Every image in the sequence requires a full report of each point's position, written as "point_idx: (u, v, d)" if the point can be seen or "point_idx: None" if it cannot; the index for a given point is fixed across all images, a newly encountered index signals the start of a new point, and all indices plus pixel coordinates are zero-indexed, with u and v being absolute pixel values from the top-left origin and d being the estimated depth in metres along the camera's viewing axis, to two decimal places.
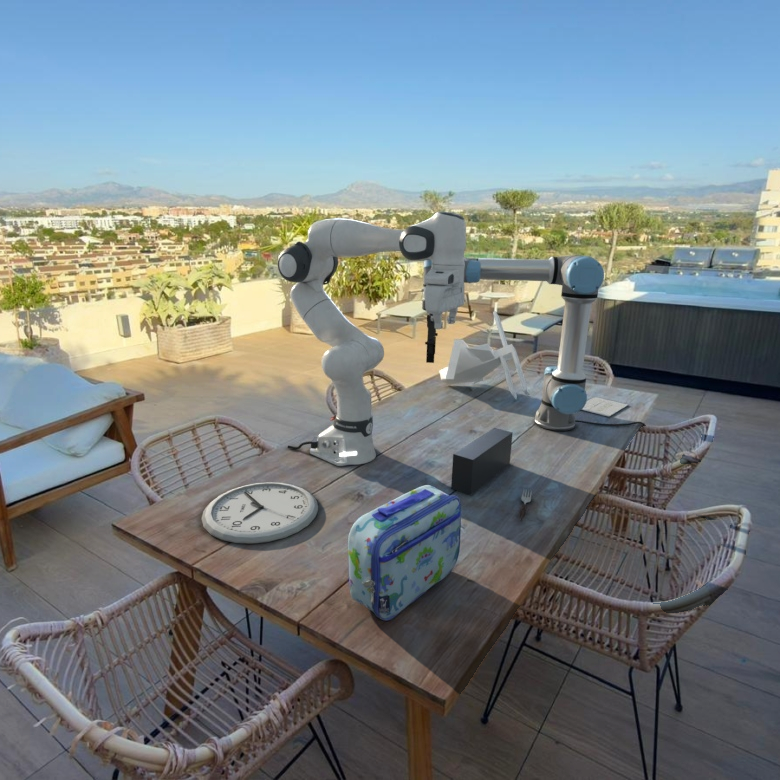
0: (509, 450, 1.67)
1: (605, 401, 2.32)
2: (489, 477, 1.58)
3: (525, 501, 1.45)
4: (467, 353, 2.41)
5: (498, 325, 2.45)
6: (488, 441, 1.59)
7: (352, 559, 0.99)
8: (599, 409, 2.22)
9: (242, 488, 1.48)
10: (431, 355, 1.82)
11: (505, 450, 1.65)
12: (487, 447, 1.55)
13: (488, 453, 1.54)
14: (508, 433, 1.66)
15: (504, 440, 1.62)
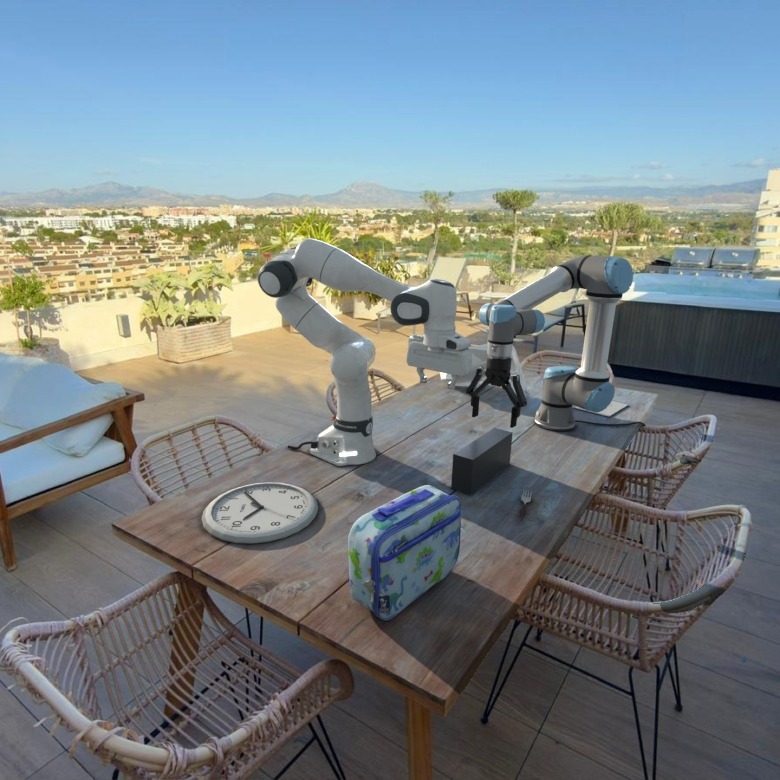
0: (509, 450, 1.67)
1: None
2: (489, 477, 1.58)
3: (525, 501, 1.45)
4: None
5: None
6: (488, 441, 1.59)
7: (352, 559, 0.99)
8: None
9: (242, 488, 1.48)
10: (515, 418, 1.61)
11: (505, 450, 1.65)
12: (487, 447, 1.55)
13: (488, 453, 1.54)
14: (508, 433, 1.66)
15: (504, 440, 1.62)
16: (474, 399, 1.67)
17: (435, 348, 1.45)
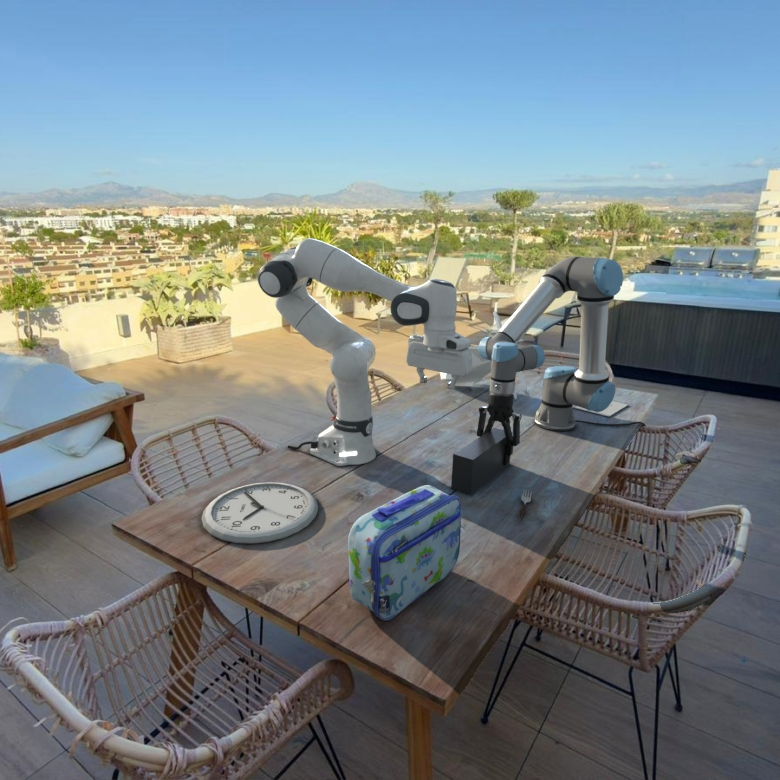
0: None
1: None
2: (489, 477, 1.58)
3: (525, 501, 1.45)
4: None
5: (498, 325, 2.45)
6: (487, 441, 1.59)
7: (352, 559, 0.99)
8: None
9: (242, 488, 1.48)
10: (508, 456, 1.66)
11: None
12: (486, 446, 1.55)
13: (487, 453, 1.54)
14: None
15: (504, 440, 1.62)
16: None
17: (435, 348, 1.45)
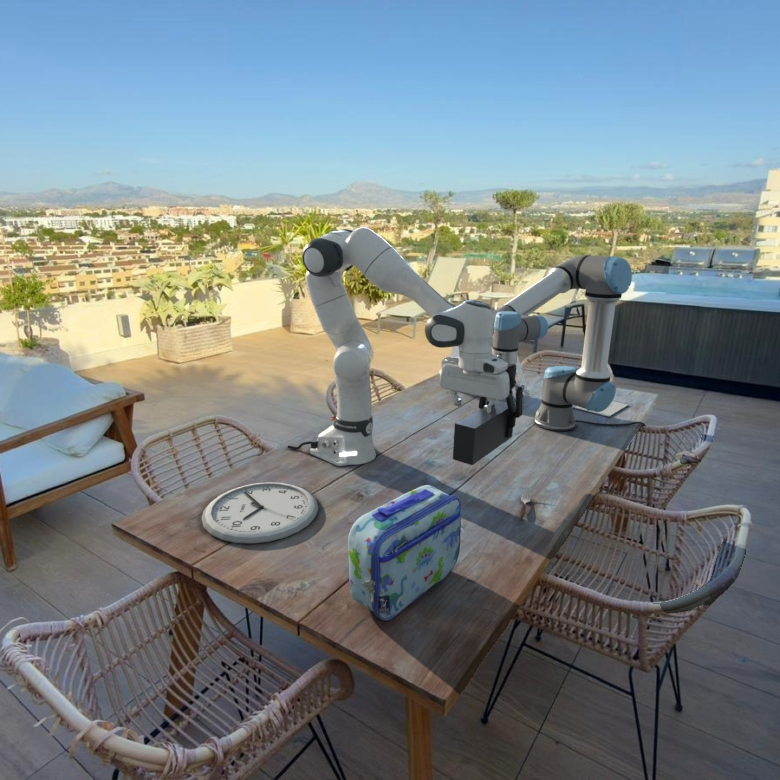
0: None
1: None
2: (491, 448, 1.56)
3: (525, 501, 1.45)
4: None
5: None
6: (490, 412, 1.56)
7: (352, 559, 0.99)
8: None
9: (242, 488, 1.48)
10: (510, 428, 1.63)
11: None
12: (489, 417, 1.52)
13: (490, 423, 1.51)
14: None
15: (506, 411, 1.59)
16: None
17: (471, 371, 1.41)
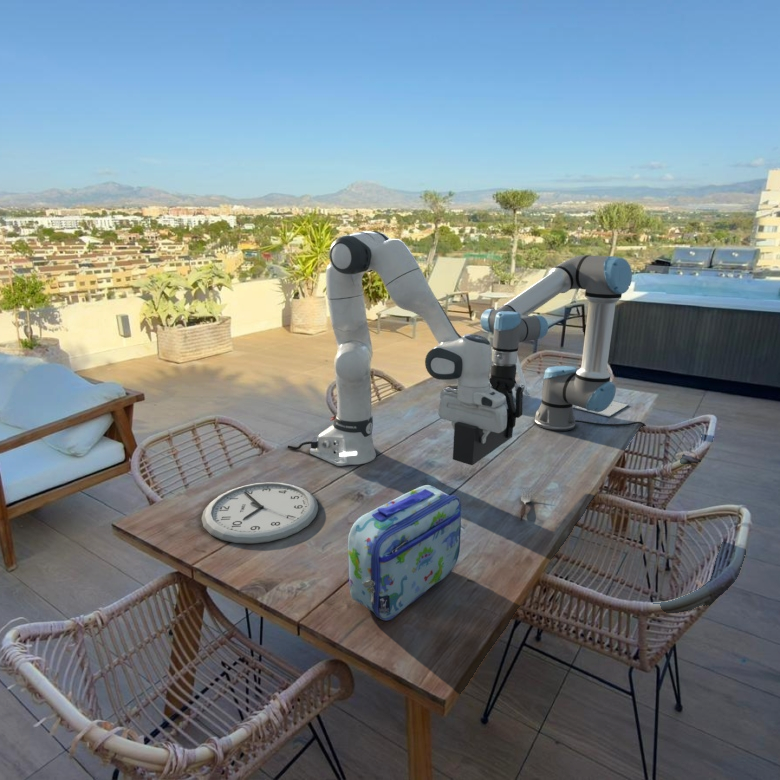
0: None
1: None
2: (491, 448, 1.56)
3: (525, 501, 1.45)
4: None
5: None
6: None
7: (352, 559, 0.99)
8: None
9: (242, 488, 1.48)
10: (511, 428, 1.63)
11: None
12: None
13: None
14: None
15: None
16: None
17: (469, 404, 1.43)
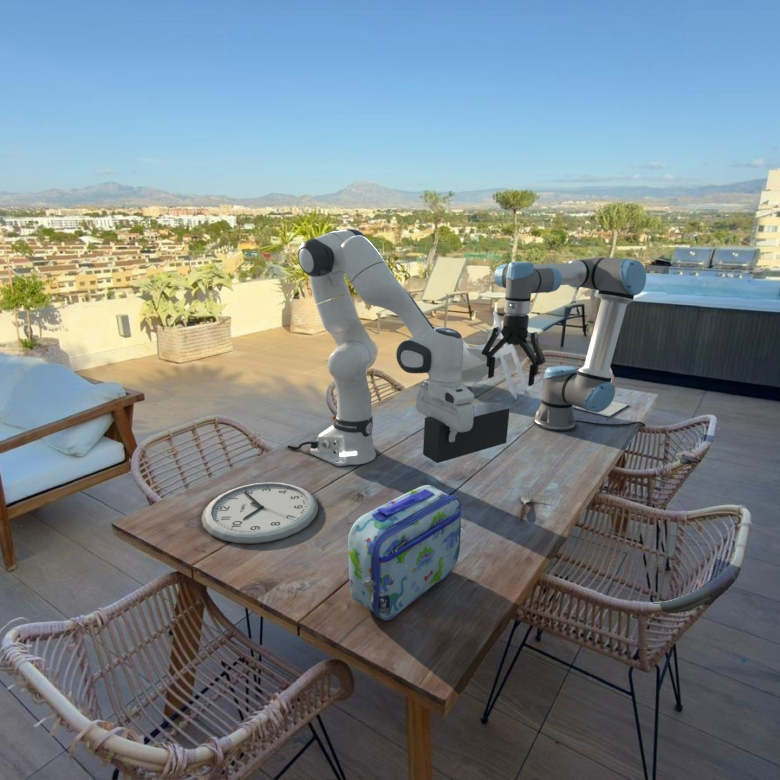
0: (504, 427, 1.54)
1: None
2: (470, 450, 1.48)
3: (525, 501, 1.45)
4: (467, 353, 2.41)
5: (498, 325, 2.45)
6: None
7: (352, 559, 0.99)
8: None
9: (242, 488, 1.48)
10: (533, 376, 1.61)
11: (497, 425, 1.52)
12: None
13: None
14: (503, 408, 1.52)
15: (495, 414, 1.50)
16: (490, 359, 1.66)
17: (437, 399, 1.39)
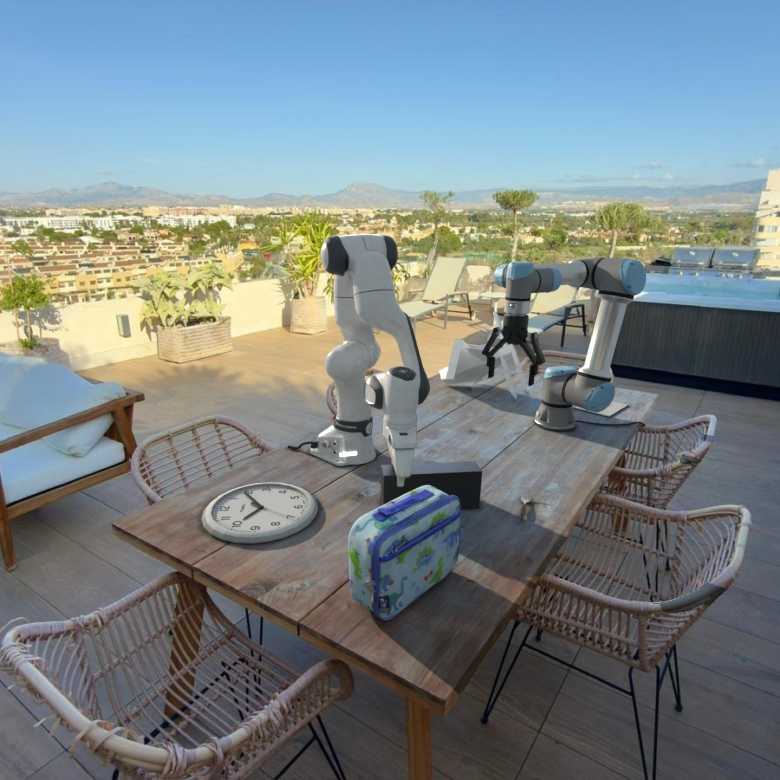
0: (476, 491, 1.41)
1: None
2: None
3: (525, 501, 1.45)
4: (467, 353, 2.41)
5: (498, 325, 2.45)
6: (436, 468, 1.40)
7: (352, 559, 0.99)
8: None
9: (242, 488, 1.48)
10: (533, 376, 1.61)
11: (465, 487, 1.40)
12: (423, 472, 1.38)
13: (419, 478, 1.38)
14: (475, 470, 1.40)
15: (460, 475, 1.39)
16: (490, 359, 1.66)
17: None
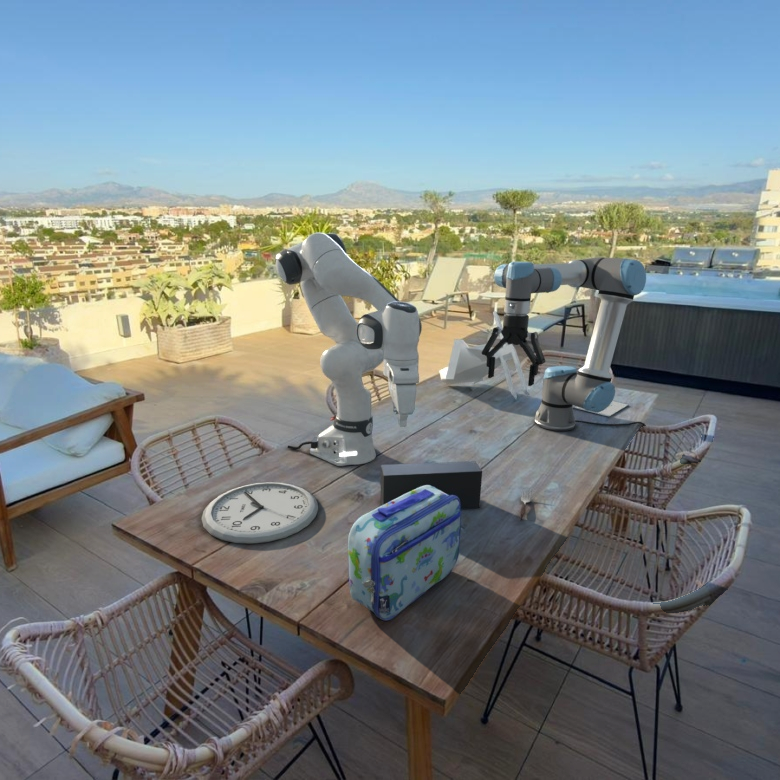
0: (476, 491, 1.41)
1: None
2: None
3: (525, 501, 1.45)
4: (467, 353, 2.41)
5: (498, 325, 2.45)
6: (436, 468, 1.40)
7: (352, 559, 0.99)
8: None
9: (242, 488, 1.48)
10: (533, 376, 1.61)
11: (465, 487, 1.40)
12: (423, 472, 1.38)
13: (419, 478, 1.38)
14: (475, 470, 1.40)
15: (460, 475, 1.39)
16: (490, 359, 1.66)
17: None
